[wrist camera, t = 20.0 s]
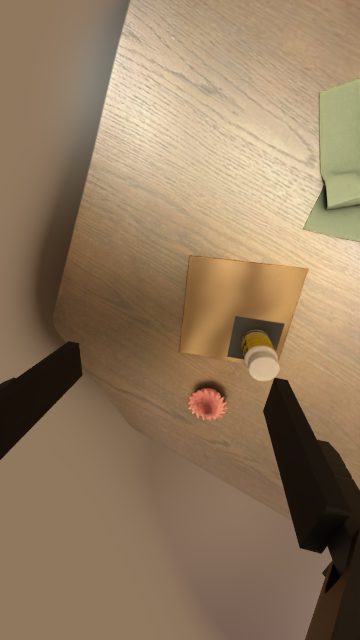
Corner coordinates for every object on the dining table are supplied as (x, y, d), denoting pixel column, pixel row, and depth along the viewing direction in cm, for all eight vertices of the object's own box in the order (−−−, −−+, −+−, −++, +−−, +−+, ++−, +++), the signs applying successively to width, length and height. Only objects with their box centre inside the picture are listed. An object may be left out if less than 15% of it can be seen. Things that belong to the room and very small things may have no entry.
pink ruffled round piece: (193, 408, 45) (190, 429, 40) (186, 378, 43) (182, 397, 37) (230, 407, 43) (231, 430, 38) (225, 376, 41) (226, 395, 36)
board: (179, 350, 40) (178, 352, 39) (190, 255, 34) (189, 255, 33) (274, 366, 38) (276, 370, 37) (306, 268, 31) (309, 269, 30)
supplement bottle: (238, 330, 36) (243, 356, 28) (267, 326, 34) (281, 351, 27) (242, 354, 37) (248, 385, 29) (270, 351, 36) (284, 382, 28)
